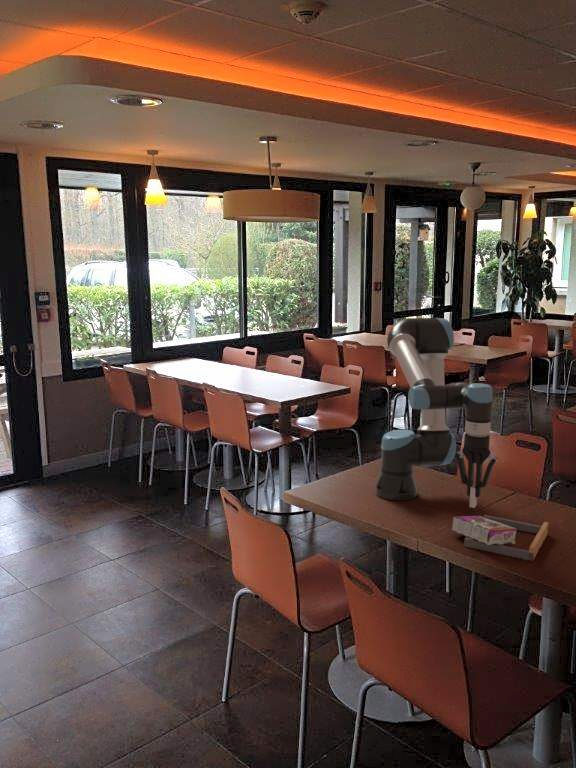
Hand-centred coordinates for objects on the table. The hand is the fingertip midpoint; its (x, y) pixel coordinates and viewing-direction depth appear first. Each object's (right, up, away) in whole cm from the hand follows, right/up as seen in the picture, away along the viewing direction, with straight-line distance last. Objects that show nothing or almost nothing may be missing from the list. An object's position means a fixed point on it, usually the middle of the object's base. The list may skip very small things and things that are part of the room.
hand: (472, 506), depth 215 cm
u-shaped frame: (+9, -10, -4) cm, 14 cm away
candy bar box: (-2, -6, +2) cm, 6 cm away
